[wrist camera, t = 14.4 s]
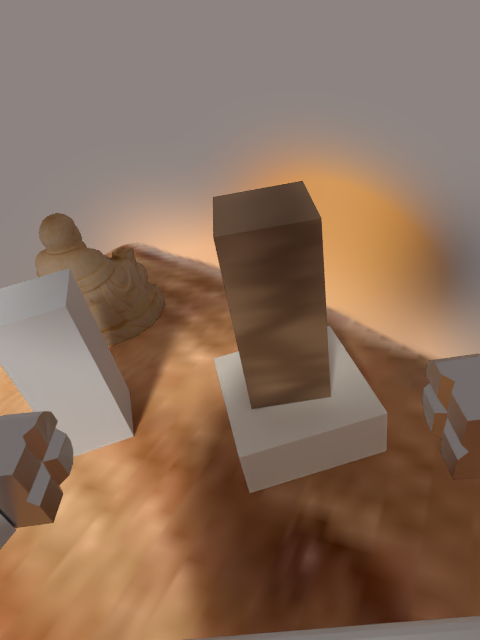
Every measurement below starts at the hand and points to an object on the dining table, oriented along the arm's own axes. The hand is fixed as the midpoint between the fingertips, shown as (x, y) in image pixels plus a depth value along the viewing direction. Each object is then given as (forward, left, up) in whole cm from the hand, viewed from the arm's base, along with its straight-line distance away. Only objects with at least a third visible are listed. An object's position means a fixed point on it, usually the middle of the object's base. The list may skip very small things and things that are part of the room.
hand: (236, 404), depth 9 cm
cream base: (+1, +14, -18) cm, 22 cm away
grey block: (-14, +16, -17) cm, 27 cm away
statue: (-17, +31, -18) cm, 39 cm away
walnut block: (+1, +15, -14) cm, 20 cm away
